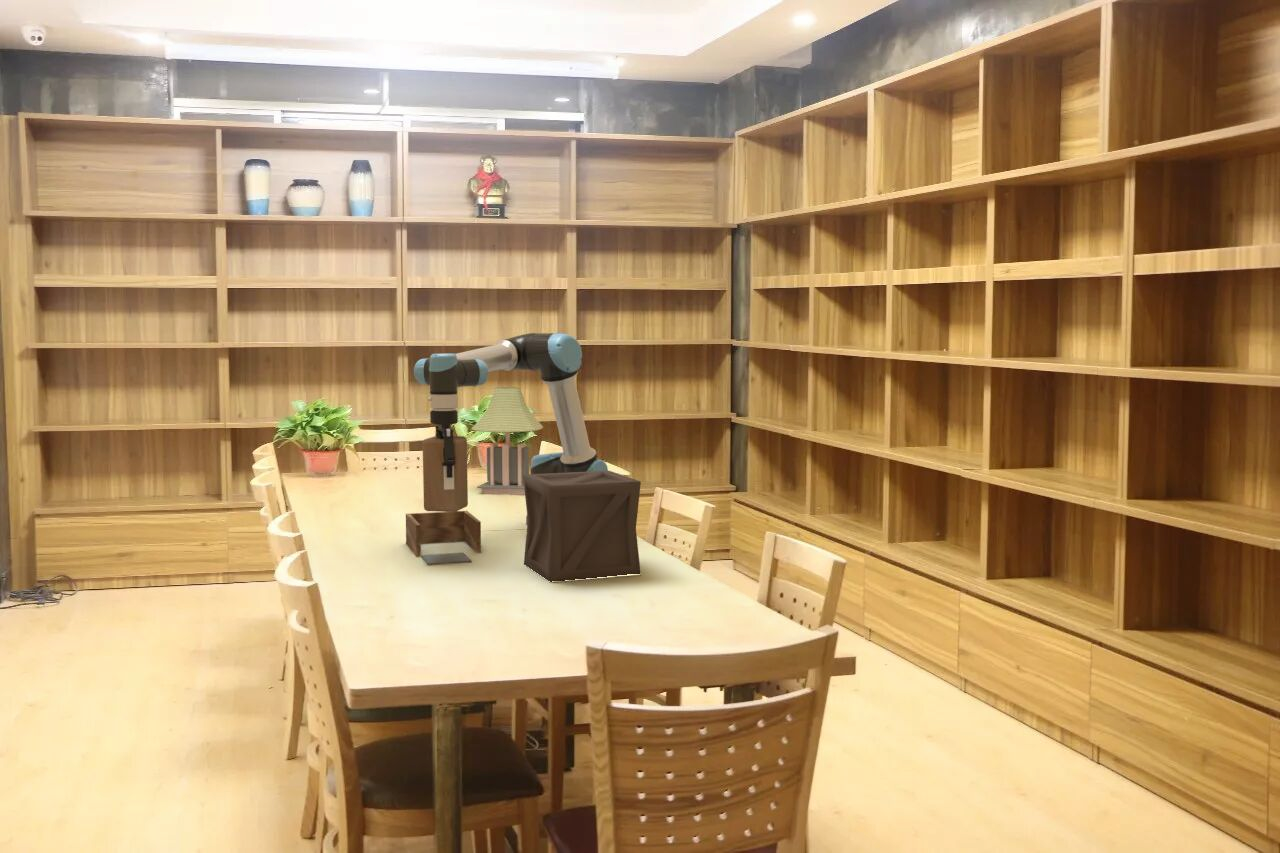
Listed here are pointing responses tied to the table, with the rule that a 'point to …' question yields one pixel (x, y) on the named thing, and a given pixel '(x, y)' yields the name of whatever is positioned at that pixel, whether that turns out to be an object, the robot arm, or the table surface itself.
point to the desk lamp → (507, 460)
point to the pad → (446, 558)
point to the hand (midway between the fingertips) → (444, 486)
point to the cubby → (442, 529)
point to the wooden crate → (581, 525)
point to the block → (434, 476)
